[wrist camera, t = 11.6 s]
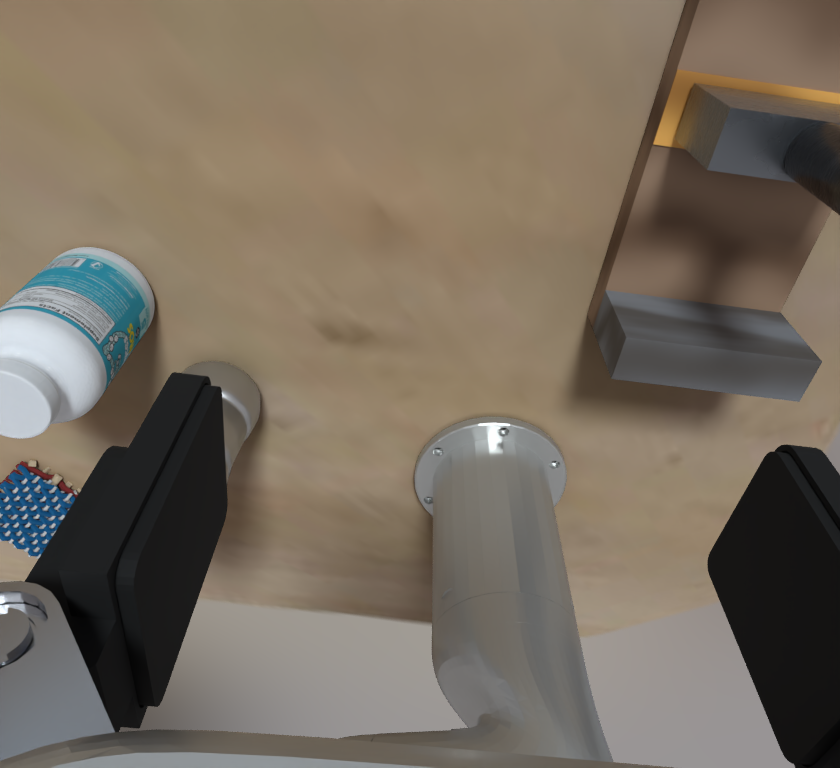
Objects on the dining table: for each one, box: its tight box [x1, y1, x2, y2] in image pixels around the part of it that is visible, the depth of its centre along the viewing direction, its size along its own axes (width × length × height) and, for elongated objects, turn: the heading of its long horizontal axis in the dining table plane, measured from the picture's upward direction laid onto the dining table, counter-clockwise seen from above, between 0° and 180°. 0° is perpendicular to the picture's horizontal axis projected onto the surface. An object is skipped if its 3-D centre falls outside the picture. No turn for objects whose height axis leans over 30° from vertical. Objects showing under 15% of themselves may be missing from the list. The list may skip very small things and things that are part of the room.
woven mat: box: [0, 460, 81, 558], centre depth 60 cm, size 10×11×2 cm
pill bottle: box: [0, 247, 155, 438], centre depth 42 cm, size 8×7×14 cm
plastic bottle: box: [182, 361, 260, 482], centre depth 44 cm, size 6×7×20 cm
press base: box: [587, 0, 840, 402], centre depth 37 cm, size 26×12×8 cm, turn 173°
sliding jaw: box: [675, 83, 840, 215], centre depth 31 cm, size 3×10×16 cm, turn 83°
